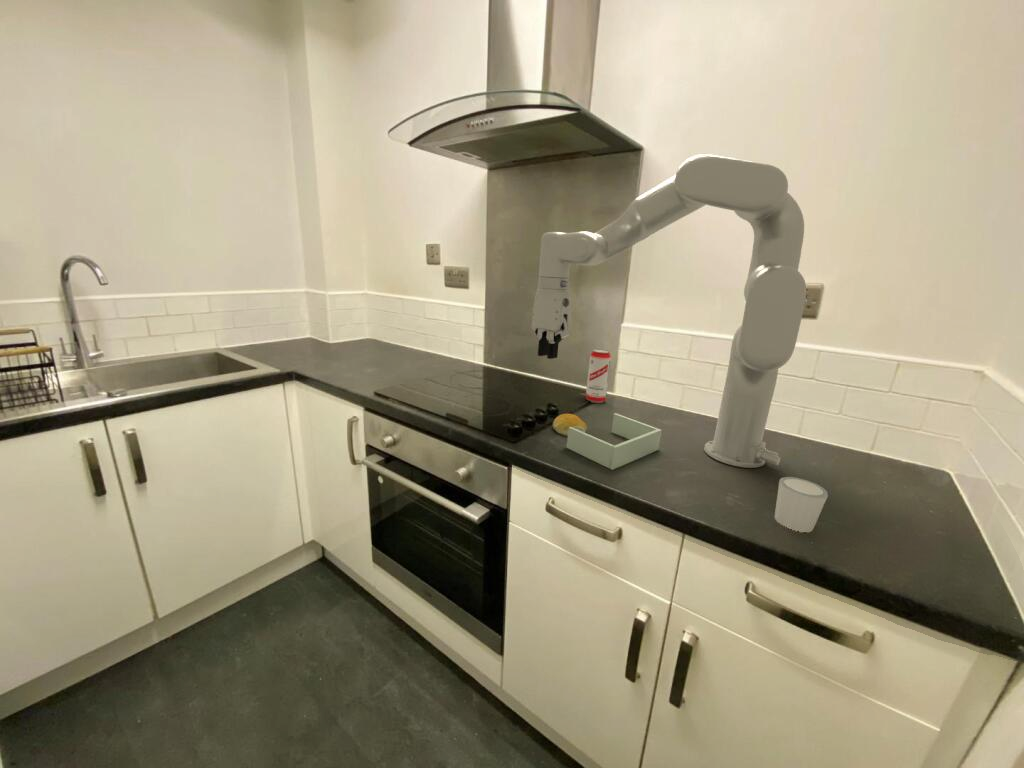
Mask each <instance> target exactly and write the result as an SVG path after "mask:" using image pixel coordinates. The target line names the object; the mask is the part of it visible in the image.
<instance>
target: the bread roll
mask: <svg viewBox="0 0 1024 768" xmlns="http://www.w3.org/2000/svg"><path fill="white" fill-rule="evenodd" d="M569 427H573V428H575V429H577V430H580V431H582V432H584V433H586V432H587V430H588V426H587V424H586V423H585V422H584V421H583V420H582V419H581V418H580V417H579V416H577V415H576V414H572V413H563V414H560V415H558V416H556V417H555V419H554V420H553V422H552V428H553V430H555V431H556V433H558V434H560V435H563V436H566V437H568V429H569Z"/></svg>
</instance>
